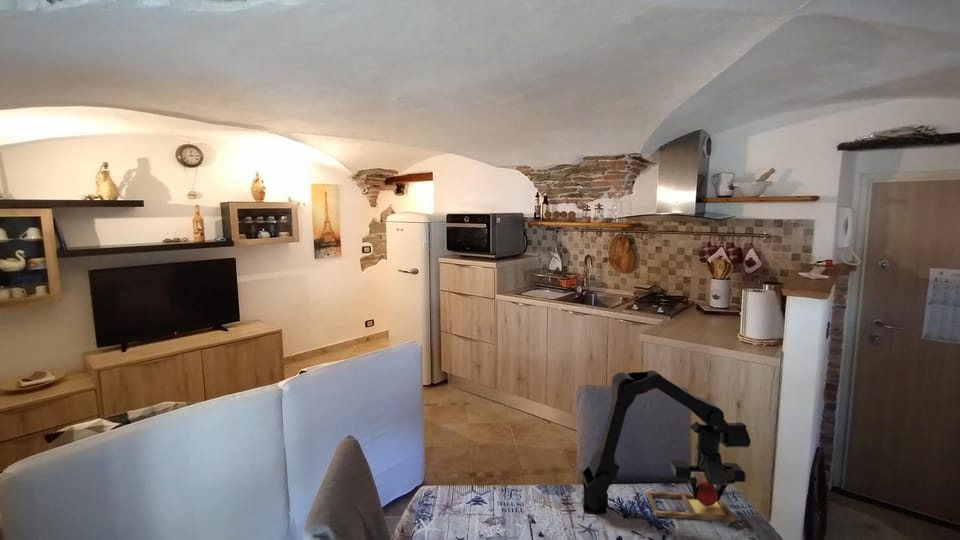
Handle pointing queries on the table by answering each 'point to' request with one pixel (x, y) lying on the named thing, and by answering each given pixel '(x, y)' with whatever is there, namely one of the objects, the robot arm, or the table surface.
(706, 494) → the red pomegranate
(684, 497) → the wooden divided frame
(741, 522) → the table surface
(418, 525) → the table surface
